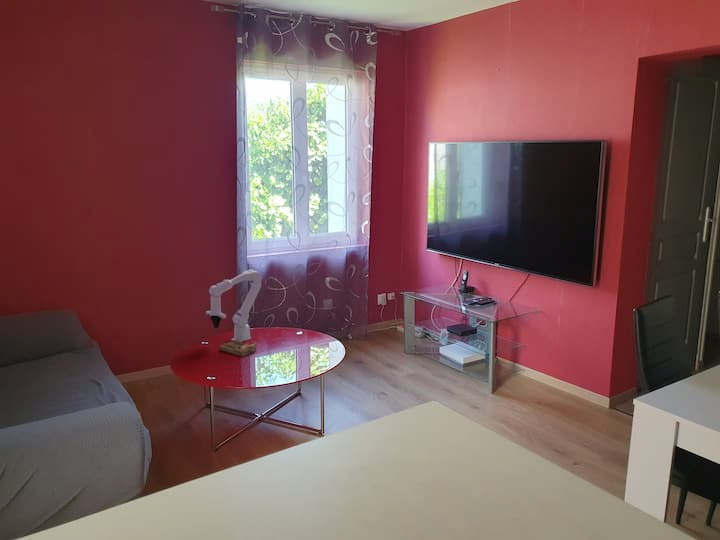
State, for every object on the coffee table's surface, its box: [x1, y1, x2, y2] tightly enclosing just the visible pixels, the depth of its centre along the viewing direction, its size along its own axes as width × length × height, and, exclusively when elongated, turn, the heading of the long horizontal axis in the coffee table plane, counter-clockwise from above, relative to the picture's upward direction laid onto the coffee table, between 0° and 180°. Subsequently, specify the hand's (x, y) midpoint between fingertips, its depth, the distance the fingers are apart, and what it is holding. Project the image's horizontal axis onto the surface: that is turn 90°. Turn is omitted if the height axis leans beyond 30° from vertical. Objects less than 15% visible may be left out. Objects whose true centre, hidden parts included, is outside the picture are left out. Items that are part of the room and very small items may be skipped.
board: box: [219, 340, 257, 357], centre depth 326 cm, size 11×18×4 cm, turn 58°
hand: (216, 327), depth 336 cm, fingers closed
